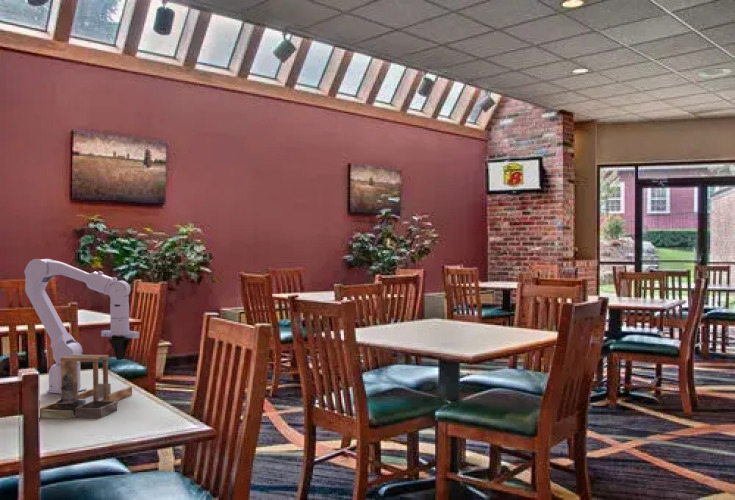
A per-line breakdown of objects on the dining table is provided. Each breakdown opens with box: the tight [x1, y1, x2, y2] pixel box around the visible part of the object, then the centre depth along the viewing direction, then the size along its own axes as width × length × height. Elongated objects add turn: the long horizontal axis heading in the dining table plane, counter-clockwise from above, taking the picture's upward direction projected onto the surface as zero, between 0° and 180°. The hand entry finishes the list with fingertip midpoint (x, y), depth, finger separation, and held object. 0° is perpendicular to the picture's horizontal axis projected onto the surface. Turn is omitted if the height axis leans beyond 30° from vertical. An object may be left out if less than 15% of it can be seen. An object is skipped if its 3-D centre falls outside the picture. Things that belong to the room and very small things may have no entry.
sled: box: [73, 382, 112, 410], centre depth 194 cm, size 15×6×5 cm, turn 170°
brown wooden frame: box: [39, 354, 133, 420], centre depth 192 cm, size 30×18×15 cm, turn 170°
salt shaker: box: [55, 371, 79, 416], centre depth 184 cm, size 6×6×12 cm
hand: (120, 359), depth 215 cm, fingers closed
